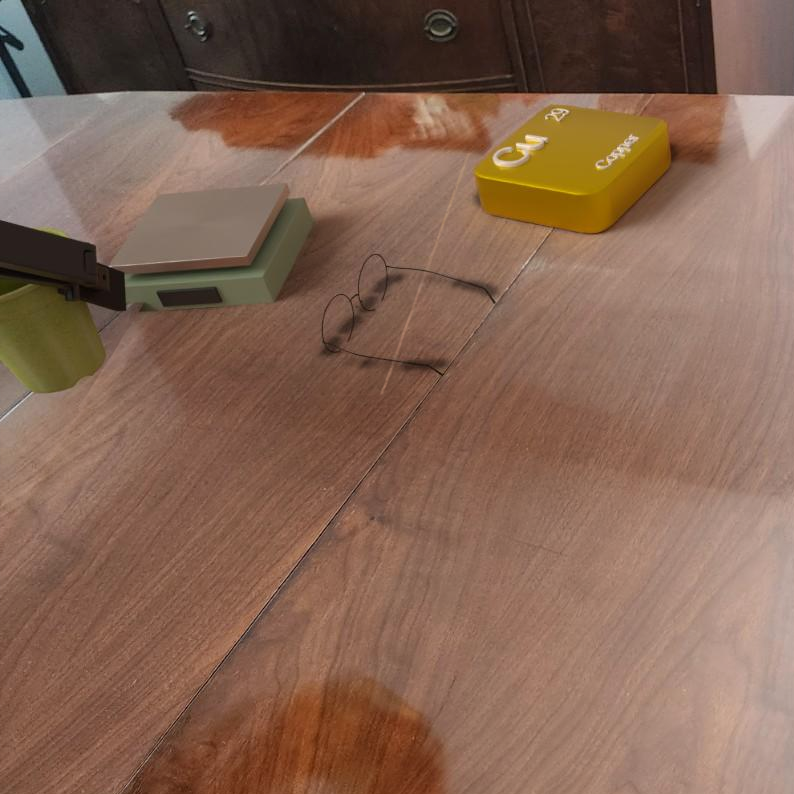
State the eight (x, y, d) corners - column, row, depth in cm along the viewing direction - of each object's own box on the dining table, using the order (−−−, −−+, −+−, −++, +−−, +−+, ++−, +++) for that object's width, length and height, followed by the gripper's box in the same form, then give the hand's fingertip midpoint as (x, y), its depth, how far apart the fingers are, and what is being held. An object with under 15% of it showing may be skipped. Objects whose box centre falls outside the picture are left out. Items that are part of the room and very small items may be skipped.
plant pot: (22, 342, 85) (-44, 239, 78) (141, 321, 84) (85, 216, 78) (-15, 419, 78) (-90, 314, 72) (113, 398, 78) (50, 290, 71)
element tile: (601, 238, 104) (594, 191, 101) (474, 213, 111) (462, 167, 107) (679, 160, 112) (674, 113, 108) (555, 141, 118) (547, 96, 115)
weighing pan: (112, 275, 105) (107, 266, 104) (161, 203, 114) (157, 194, 113) (250, 265, 103) (246, 255, 102) (290, 192, 111) (287, 182, 110)
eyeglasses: (501, 297, 100) (489, 247, 96) (438, 384, 93) (421, 334, 89) (394, 286, 104) (378, 237, 100) (325, 369, 97) (305, 320, 93)
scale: (118, 316, 108) (99, 281, 105) (171, 236, 117) (154, 201, 114) (273, 305, 105) (258, 269, 102) (314, 224, 114) (301, 188, 111)
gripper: (-392, 297, 60) (-76, 356, 83) (-30, 271, 57) (200, 340, 79) (-404, 155, 60) (-83, 253, 82) (-39, 119, 56) (195, 232, 78)
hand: (56, 296), depth 80 cm, fingers closed on plant pot, 9 cm apart
